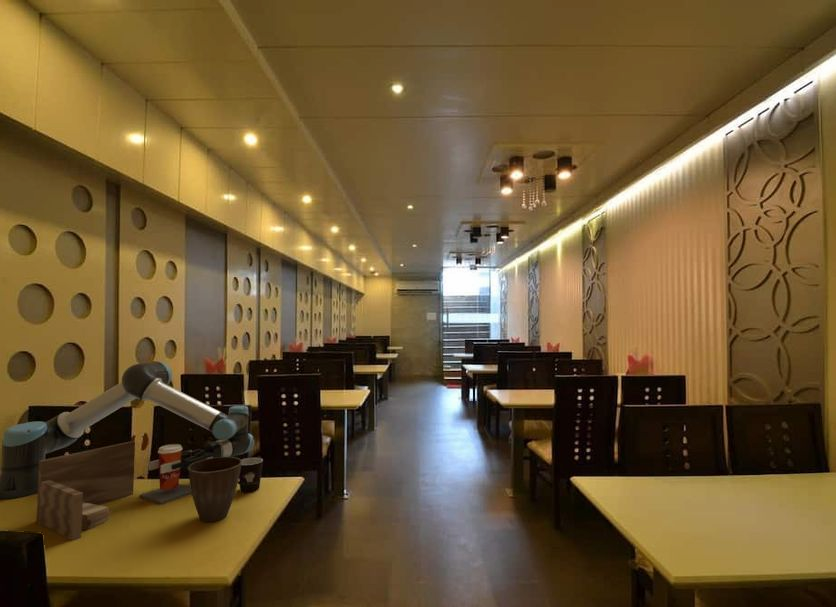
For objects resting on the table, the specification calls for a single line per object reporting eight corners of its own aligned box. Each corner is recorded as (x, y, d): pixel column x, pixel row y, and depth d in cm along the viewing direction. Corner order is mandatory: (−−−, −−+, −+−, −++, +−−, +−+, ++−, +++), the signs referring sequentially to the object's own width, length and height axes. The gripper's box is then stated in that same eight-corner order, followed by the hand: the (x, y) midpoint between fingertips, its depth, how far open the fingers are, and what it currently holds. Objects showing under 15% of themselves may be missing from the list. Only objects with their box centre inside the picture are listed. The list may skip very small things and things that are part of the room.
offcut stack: (56, 526, 125) (57, 510, 125) (80, 516, 131) (81, 501, 132) (87, 531, 121) (87, 515, 122) (110, 521, 128) (111, 506, 128)
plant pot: (251, 510, 134) (252, 459, 135) (215, 531, 120) (216, 473, 121) (213, 504, 139) (214, 455, 140) (174, 524, 125) (176, 469, 126)
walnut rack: (36, 521, 127) (39, 460, 128) (130, 492, 150) (132, 441, 151) (72, 540, 116) (75, 472, 117) (168, 506, 138) (170, 449, 139)
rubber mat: (139, 497, 146) (139, 494, 146) (176, 485, 157) (176, 482, 157) (160, 504, 139) (160, 501, 139) (198, 491, 151) (198, 489, 151)
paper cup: (163, 493, 143) (165, 450, 144) (151, 488, 147) (153, 447, 148) (186, 485, 150) (187, 445, 151) (174, 481, 154) (175, 442, 155)
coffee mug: (266, 485, 156) (267, 457, 157) (255, 494, 147) (256, 465, 148) (236, 484, 157) (237, 457, 158) (223, 493, 149) (224, 464, 149)
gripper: (232, 464, 159) (171, 484, 140) (200, 457, 169) (139, 474, 149) (232, 444, 160) (171, 460, 140) (201, 438, 170) (140, 452, 150)
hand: (155, 467), depth 145 cm, fingers closed on paper cup, 6 cm apart
